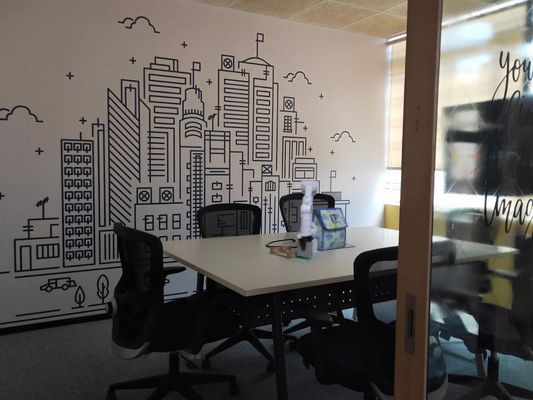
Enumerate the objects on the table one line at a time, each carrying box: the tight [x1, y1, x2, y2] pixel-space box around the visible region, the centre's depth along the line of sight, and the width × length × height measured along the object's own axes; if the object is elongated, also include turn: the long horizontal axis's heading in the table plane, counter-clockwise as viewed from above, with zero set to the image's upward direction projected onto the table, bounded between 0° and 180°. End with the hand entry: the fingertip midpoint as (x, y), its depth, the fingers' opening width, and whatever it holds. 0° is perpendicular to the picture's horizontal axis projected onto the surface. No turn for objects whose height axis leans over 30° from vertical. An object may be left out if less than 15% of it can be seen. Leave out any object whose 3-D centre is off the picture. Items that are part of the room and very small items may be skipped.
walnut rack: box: [269, 244, 304, 260], centre depth 259 cm, size 16×16×4 cm
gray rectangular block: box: [296, 240, 313, 258], centre depth 247 cm, size 4×8×8 cm, turn 51°
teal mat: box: [291, 257, 319, 263], centre depth 248 cm, size 12×9×1 cm
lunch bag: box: [311, 207, 348, 252], centre depth 285 cm, size 22×17×26 cm
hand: (305, 249), depth 247 cm, fingers closed on gray rectangular block, 3 cm apart
